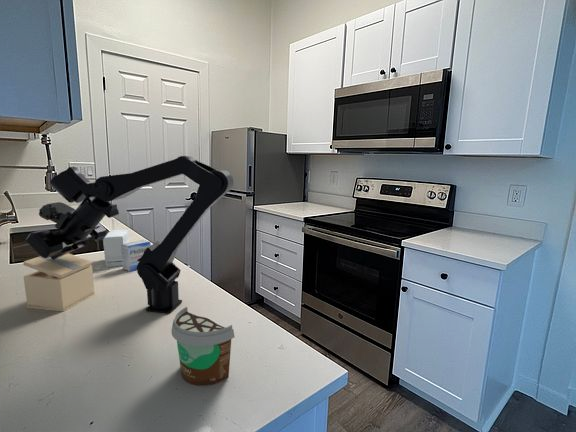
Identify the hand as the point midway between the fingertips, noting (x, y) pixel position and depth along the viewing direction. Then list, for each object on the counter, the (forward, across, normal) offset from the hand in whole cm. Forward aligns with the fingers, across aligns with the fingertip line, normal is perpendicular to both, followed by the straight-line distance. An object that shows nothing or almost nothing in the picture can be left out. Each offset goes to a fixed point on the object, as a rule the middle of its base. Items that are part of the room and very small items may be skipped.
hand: (52, 257), depth 81 cm
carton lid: (0, 0, +2) cm, 2 cm away
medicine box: (+5, -27, +11) cm, 30 cm away
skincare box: (+12, -31, +4) cm, 34 cm away
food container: (-25, +21, +42) cm, 53 cm away
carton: (+7, 0, +9) cm, 11 cm away
